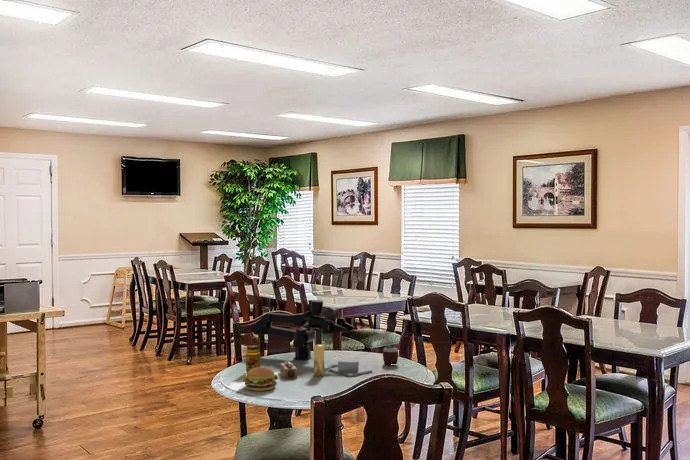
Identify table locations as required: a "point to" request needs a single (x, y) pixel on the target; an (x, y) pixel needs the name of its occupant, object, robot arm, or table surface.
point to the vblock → (350, 368)
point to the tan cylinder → (318, 360)
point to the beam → (288, 371)
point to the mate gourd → (390, 354)
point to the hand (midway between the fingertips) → (350, 328)
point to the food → (260, 379)
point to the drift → (288, 363)
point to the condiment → (252, 357)
